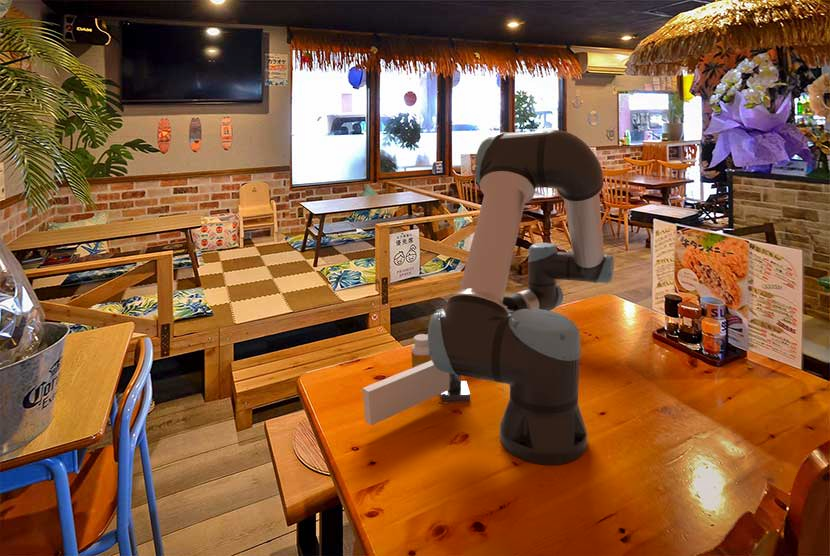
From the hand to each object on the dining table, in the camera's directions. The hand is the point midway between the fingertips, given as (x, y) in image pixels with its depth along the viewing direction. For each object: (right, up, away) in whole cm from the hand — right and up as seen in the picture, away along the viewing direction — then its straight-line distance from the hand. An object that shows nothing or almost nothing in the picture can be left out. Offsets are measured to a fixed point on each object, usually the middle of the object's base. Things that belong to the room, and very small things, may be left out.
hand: (452, 329), depth 121 cm
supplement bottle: (-7, -10, -5) cm, 13 cm away
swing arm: (-10, -13, -22) cm, 27 cm away
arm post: (-1, -13, -14) cm, 19 cm away
